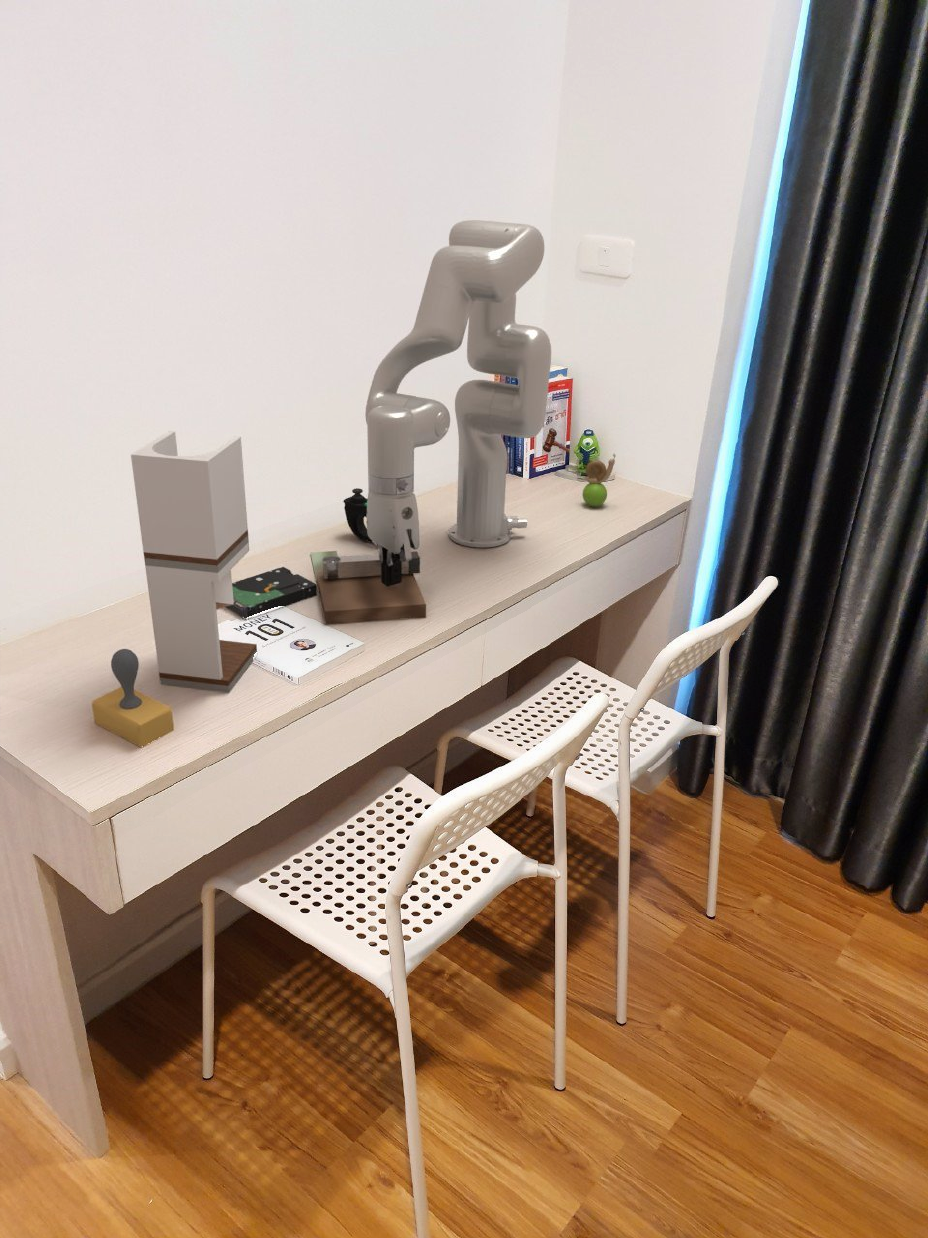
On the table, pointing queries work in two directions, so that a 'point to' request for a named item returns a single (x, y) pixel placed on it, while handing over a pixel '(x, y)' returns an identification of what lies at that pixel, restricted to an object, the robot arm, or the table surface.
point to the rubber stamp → (131, 706)
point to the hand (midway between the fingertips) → (391, 582)
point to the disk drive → (270, 591)
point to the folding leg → (363, 566)
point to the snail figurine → (597, 482)
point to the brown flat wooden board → (366, 597)
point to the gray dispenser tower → (192, 558)
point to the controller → (357, 514)
